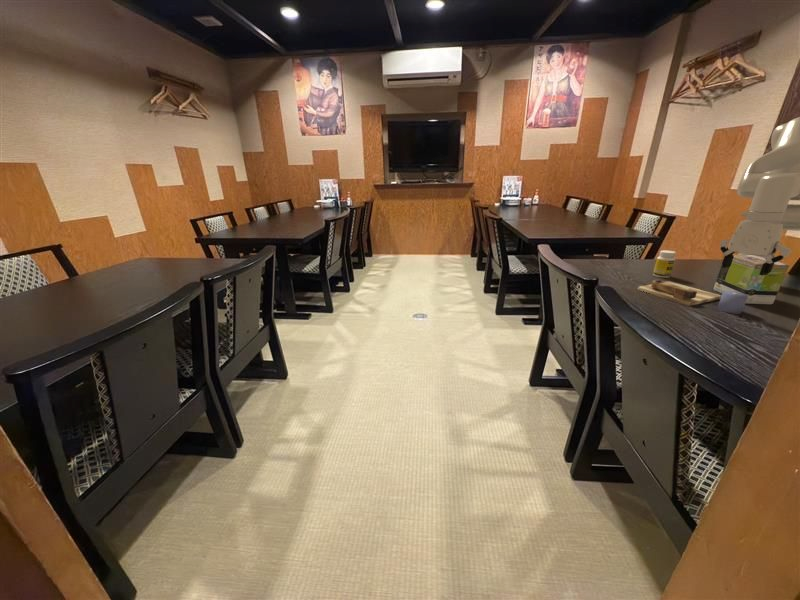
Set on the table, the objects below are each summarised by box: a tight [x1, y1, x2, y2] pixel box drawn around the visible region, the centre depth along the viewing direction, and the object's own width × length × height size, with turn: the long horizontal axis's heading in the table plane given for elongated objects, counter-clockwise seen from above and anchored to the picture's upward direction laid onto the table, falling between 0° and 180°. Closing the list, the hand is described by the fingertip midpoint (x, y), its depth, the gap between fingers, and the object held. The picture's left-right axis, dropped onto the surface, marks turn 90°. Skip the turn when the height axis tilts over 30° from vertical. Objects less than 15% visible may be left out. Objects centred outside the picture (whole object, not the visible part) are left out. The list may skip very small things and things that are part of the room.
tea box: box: [713, 254, 790, 305], centre depth 118 cm, size 15×10×15 cm
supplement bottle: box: [652, 249, 677, 279], centre depth 144 cm, size 6×6×11 cm
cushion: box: [717, 291, 748, 315], centre depth 109 cm, size 6×6×6 cm
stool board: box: [636, 280, 722, 307], centre depth 124 cm, size 18×19×5 cm
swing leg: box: [650, 278, 697, 299], centre depth 122 cm, size 15×4×3 cm, turn 15°
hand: (744, 270), depth 105 cm, fingers open, 9 cm apart
